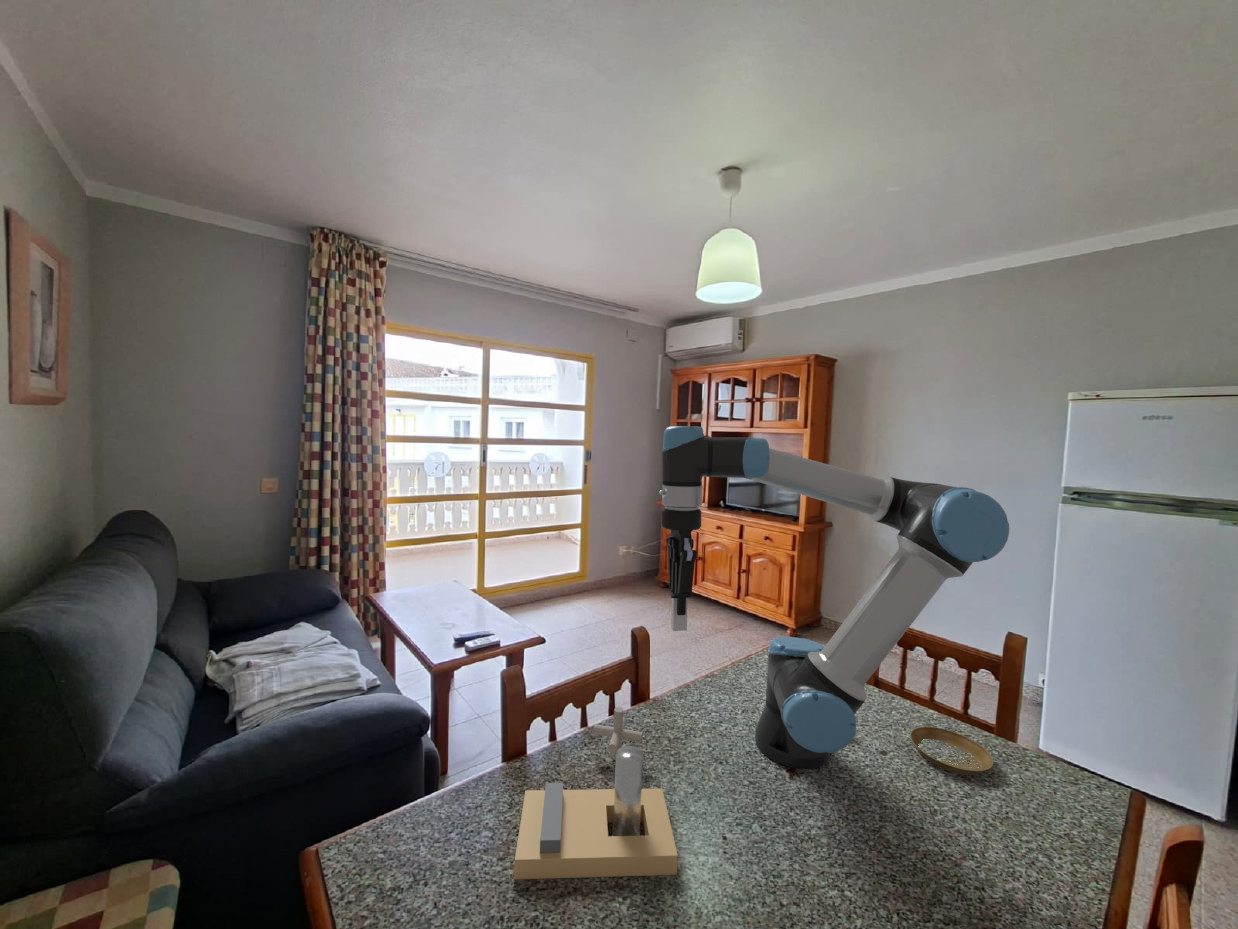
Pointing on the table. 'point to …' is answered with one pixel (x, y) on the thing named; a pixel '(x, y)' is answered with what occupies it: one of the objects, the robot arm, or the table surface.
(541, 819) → the jig
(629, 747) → the grey metal cylinder
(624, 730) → the pipe connector
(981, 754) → the plant saucer
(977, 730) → the table surface
